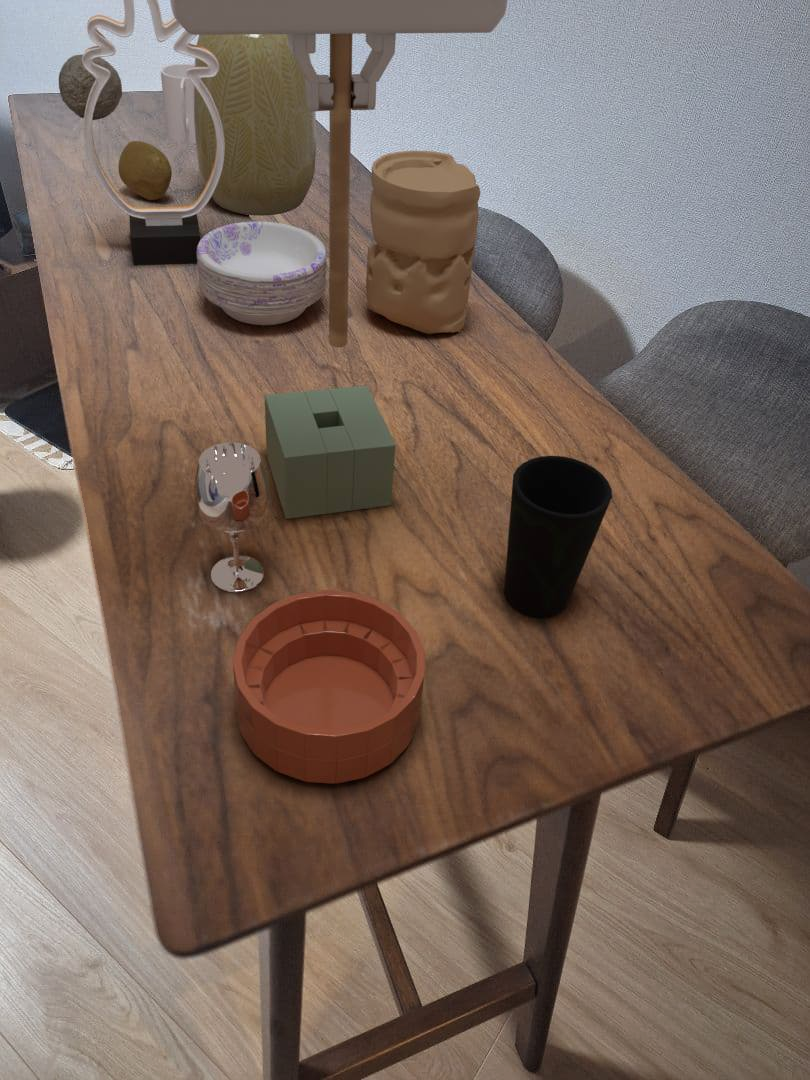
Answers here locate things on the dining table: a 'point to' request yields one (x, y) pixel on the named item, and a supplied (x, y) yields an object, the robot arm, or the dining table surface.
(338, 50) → the stirring stick
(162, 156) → the potato
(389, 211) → the container
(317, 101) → the robot arm
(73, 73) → the decorative stone
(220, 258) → the paper bowls
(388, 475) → the stick stand
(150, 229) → the lamp
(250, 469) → the wineglass
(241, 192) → the vase
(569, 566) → the cup
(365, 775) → the orange round piece
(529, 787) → the dining table surface
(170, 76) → the cup
